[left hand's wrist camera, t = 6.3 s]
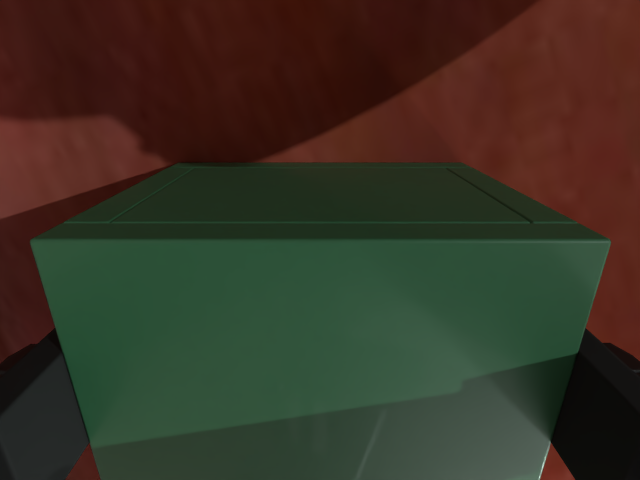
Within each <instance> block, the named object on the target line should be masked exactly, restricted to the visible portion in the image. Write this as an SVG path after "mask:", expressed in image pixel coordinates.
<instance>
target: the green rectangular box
mask: <svg viewBox="0 0 640 480" xmlns="http://www.w3.org/2000/svg"><path fill="white" fill-rule="evenodd" d="M610 244H611V241H610V239H608V238H606V237H604V236H602V235H600V234H598V233H597V232H595V231H593V230H591V229H589V228H587V227H585V226H583V225H581V224H579V223H577V222H576V221H574V220H572V219H570V218H568V217H566V216H564V215H562V214H560V213H558V212H557V211H555V210H553V209H551V208H549V207H547V206H545V205H543V204H541V203H539V202H537V201H535V200H533V199H531V198H530V197H528V196H526V195H524V194H522V193H520V192H518V191H516V190H514V189H512V188H510V187H508V186H506V185H505V184H503V183H501V182H499V181H497V180H495V179H493V178H491V177H489V176H487V175H485V174H483V173H481V172H479V171H478V170H476V169H474V168H471V167H469V166H467V165H465V164H463V163H176V164H175V165H173V166H171V167H169V168H166V169H164V170H162V171H161V172H159V173H157V174H155V175H153V176H151V177H149V178H147V179H145V180H143V181H141V182H139V183H138V184H136V185H134V186H132V187H130V188H128V189H126V190H124V191H122V192H120V193H118V194H116V195H115V196H113V197H111V198H109V199H107V200H105V201H103V202H101V203H99V204H97V205H95V206H93V207H92V208H90V209H88V210H86V211H84V212H82V213H80V214H78V215H76V216H74V217H72V218H70V219H69V220H67V221H65V222H64V223H62V224H59V225H57V226H55V227H54V228H52V229H50V230H48V231H46V232H44V233H42V234H40V235H38V236H36V237H34V238H32V239H31V240H30V245H31V249H32V252H33V255H34V259H35V262H36V265H37V269H38V272H39V275H40V279H41V282H42V285H43V289H44V292H45V295H46V299H47V302H48V305H49V309H50V312H51V315H52V319H53V322H54V325H55V329H56V332H57V335H58V339H59V342H60V345H61V349H62V352H63V355H64V359H65V362H66V366H67V369H68V372H69V376H70V379H71V382H72V386H73V389H74V392H75V396H76V399H77V402H78V406H79V409H80V412H81V416H82V419H83V422H84V426H85V429H86V432H87V436H88V439H89V442H90V446H91V449H92V452H93V456H94V459H95V462H96V466H97V469H98V472H99V476H100V479H101V480H540V477H541V474H542V470H543V467H544V464H545V460H546V457H547V454H548V450H549V447H550V444H551V440H552V437H553V434H554V430H555V427H556V424H557V420H558V417H559V414H560V410H561V407H562V404H563V400H564V397H565V394H566V391H567V387H568V384H569V381H570V377H571V374H572V371H573V367H574V364H575V361H576V357H577V354H578V351H579V347H580V344H581V341H582V337H583V334H584V331H585V327H586V324H587V321H588V317H589V314H590V311H591V307H592V304H593V301H594V297H595V294H596V291H597V288H598V284H599V281H600V278H601V274H602V271H603V268H604V264H605V261H606V258H607V254H608V251H609V248H610Z"/></svg>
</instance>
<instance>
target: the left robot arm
mask: <svg viewBox="0 0 640 480" xmlns="http://www.w3.org/2000/svg"><path fill="white" fill-rule="evenodd" d="M551 443H552V444H553V446H554V448H555V449H556V451H557V452H558V454H559V455H560V457H561V458H562V460H563V461H564V463H565V464H566V466H567V467H568V469H569V470H570V472H571V474H572V475H573V477H574V478H575V480H640V361H638V360H637V359H636V358H635V357H634V356H633V355H631V354H629V353H627V352H625V351H624V350H622V349H620V348H618V347H616V346H615V345H613V344H611V343H602V342H600V341H599V340H598V339H597V338H596V337H595V336H594V335H593V334H592V333H590V332H589V331H588V330H587V329H586V328H585V331H584V334H583V337H582V341H581V344H580V347H579V351H578V354H577V357H576V361H575V364H574V367H573V371H572V374H571V377H570V381H569V384H568V387H567V391H566V394H565V397H564V400H563V404H562V407H561V410H560V414H559V417H558V420H557V424H556V427H555V430H554V434H553V437H552V440H551ZM88 444H89V439H88V436H87V432H86V429H85V426H84V422H83V419H82V416H81V412H80V409H79V406H78V402H77V399H76V396H75V392H74V389H73V386H72V382H71V379H70V376H69V372H68V369H67V366H66V362H65V359H64V355H63V352H62V349H61V345H60V342H59V339H58V335H57V332H56V329H53V330H52V331H51V332H50V333H49V334H48V335H47V336H46V337H45V338H43V339H42V340H41V341H40V342H39V343H38V344H30V345H29V346H27V347H25V348H23V349H21V350H20V351H18V352H16V353H14V354H13V355H11V356H9V357H8V358H6V359H5V360H4V361H3V362H2V363H1V364H0V480H65V479H66V477H67V476H68V474H69V473H70V471H71V470H72V468H73V467H74V465H75V463H76V462H77V460H78V459H79V457H80V456H81V454H82V453H83V451H84V450H85V448H86V447H87V445H88Z"/></svg>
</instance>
